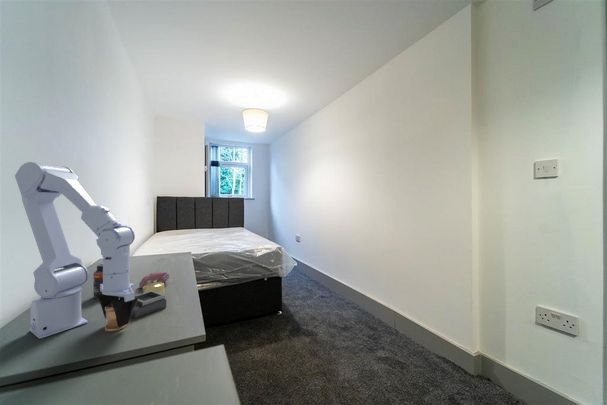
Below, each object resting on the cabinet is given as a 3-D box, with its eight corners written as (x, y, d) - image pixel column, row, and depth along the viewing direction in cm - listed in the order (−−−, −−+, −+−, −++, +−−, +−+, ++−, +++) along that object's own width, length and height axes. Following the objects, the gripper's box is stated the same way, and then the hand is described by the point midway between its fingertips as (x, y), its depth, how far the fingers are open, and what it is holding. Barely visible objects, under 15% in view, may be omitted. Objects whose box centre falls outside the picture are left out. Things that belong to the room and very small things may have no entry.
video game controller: (141, 293, 93) (145, 279, 91) (137, 286, 96) (140, 271, 94) (168, 286, 101) (172, 273, 99) (164, 279, 104) (167, 266, 102)
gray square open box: (135, 318, 71) (135, 302, 71) (120, 311, 75) (120, 296, 75) (166, 307, 78) (166, 292, 78) (150, 301, 83) (150, 287, 83)
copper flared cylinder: (110, 333, 63) (110, 310, 63) (101, 328, 65) (101, 306, 65) (131, 325, 67) (131, 303, 67) (122, 320, 69) (122, 299, 69)
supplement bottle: (119, 293, 90) (119, 262, 90) (104, 299, 84) (104, 266, 84) (104, 292, 90) (104, 262, 90) (88, 299, 84) (88, 266, 84)
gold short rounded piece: (149, 301, 83) (149, 289, 83) (139, 297, 86) (139, 286, 86) (168, 295, 88) (168, 284, 88) (158, 291, 92) (158, 281, 92)
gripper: (146, 272, 66) (146, 322, 66) (120, 264, 73) (120, 309, 73) (116, 279, 60) (116, 334, 60) (90, 270, 67) (90, 319, 67)
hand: (116, 321), depth 66 cm, fingers open, 6 cm apart
